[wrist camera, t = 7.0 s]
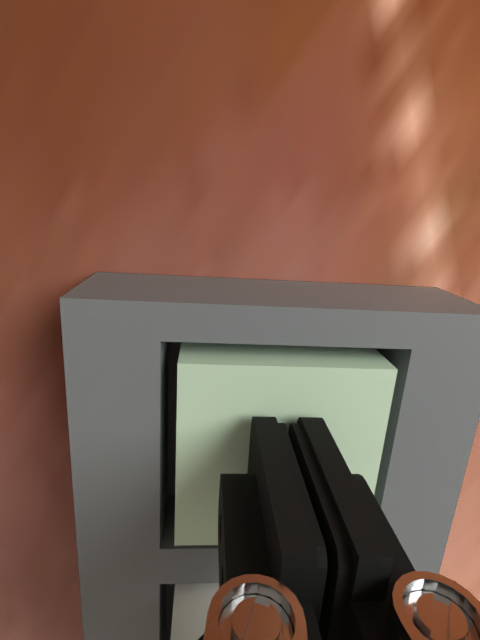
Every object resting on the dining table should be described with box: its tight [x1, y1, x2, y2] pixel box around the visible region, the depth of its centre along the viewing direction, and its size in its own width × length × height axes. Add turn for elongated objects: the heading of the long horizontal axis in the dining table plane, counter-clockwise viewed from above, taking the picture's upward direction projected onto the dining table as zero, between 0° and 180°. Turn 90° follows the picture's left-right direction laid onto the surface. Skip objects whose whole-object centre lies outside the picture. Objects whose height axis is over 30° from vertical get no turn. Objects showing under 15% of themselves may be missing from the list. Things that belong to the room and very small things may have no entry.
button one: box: [174, 342, 398, 546], centre depth 11 cm, size 5×5×2 cm
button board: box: [59, 272, 480, 640], centre depth 14 cm, size 22×10×3 cm, turn 176°
